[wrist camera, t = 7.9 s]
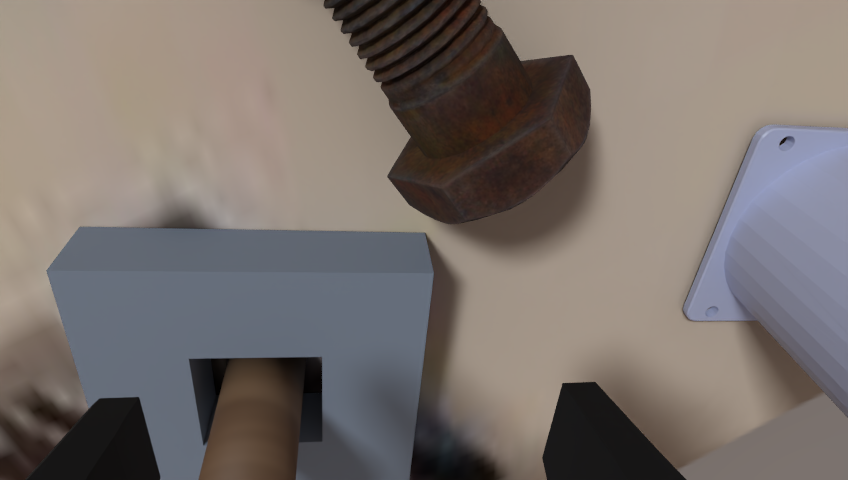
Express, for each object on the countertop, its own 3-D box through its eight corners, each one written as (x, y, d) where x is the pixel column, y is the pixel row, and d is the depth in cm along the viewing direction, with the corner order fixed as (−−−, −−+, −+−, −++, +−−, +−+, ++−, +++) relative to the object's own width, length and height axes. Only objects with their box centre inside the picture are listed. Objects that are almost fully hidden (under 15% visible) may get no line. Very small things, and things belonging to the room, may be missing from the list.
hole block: (424, 232, 20) (434, 273, 18) (402, 445, 26) (407, 494, 23) (79, 226, 18) (46, 270, 16) (139, 455, 24) (119, 508, 22)
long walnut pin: (307, 380, 23) (293, 555, 17) (234, 382, 22) (193, 562, 17) (304, 326, 21) (288, 496, 15) (226, 327, 21) (179, 502, 15)
